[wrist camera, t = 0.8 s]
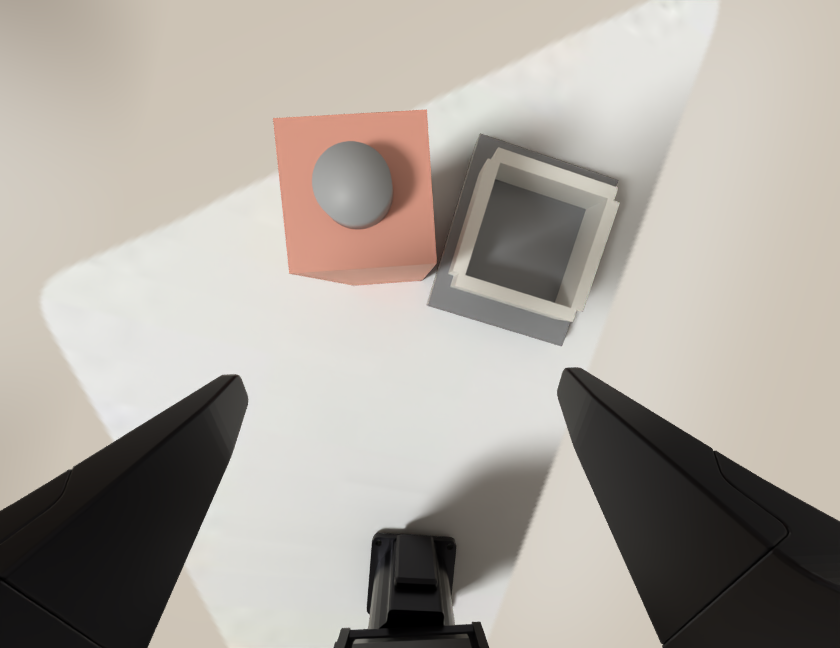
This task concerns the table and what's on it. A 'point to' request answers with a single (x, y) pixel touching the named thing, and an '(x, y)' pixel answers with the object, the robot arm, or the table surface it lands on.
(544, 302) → the grey socket base
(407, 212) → the pink square bar
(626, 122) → the table surface
